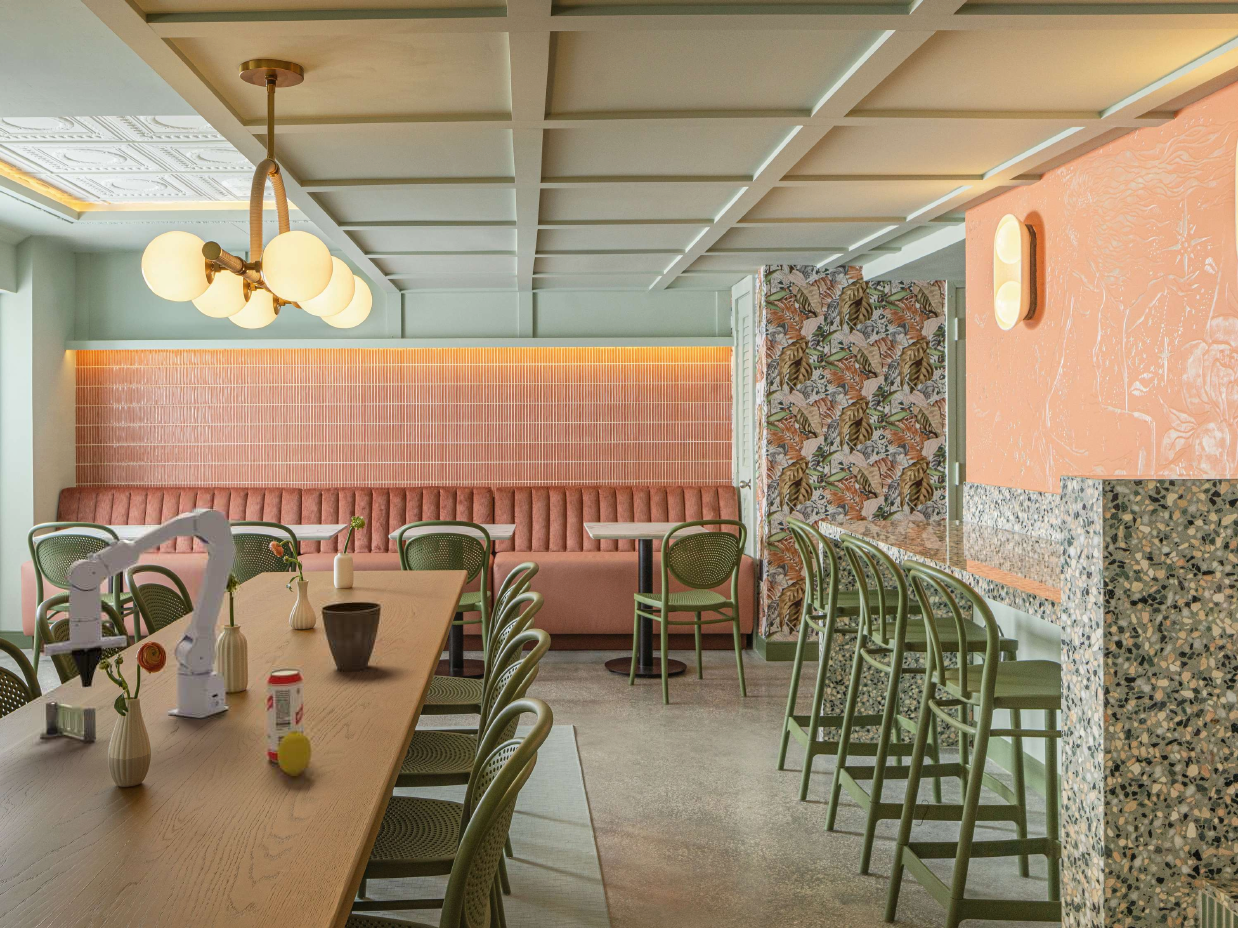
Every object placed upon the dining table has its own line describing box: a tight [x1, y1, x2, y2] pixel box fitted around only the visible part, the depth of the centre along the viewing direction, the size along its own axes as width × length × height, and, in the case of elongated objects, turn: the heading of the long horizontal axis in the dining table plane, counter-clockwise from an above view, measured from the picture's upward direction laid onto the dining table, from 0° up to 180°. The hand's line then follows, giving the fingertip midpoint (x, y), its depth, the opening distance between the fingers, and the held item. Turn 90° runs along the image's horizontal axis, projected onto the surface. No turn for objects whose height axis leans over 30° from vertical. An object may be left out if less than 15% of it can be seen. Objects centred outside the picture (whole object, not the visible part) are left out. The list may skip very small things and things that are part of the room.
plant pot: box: [320, 601, 382, 672], centre depth 246 cm, size 15×15×16 cm
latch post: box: [39, 701, 65, 740], centre depth 189 cm, size 4×4×6 cm
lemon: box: [278, 730, 312, 777], centre depth 165 cm, size 6×6×8 cm
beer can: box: [266, 668, 305, 764], centre depth 174 cm, size 6×6×16 cm
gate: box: [58, 702, 97, 742], centre depth 188 cm, size 12×2×6 cm, turn 59°
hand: (86, 685), depth 193 cm, fingers closed
